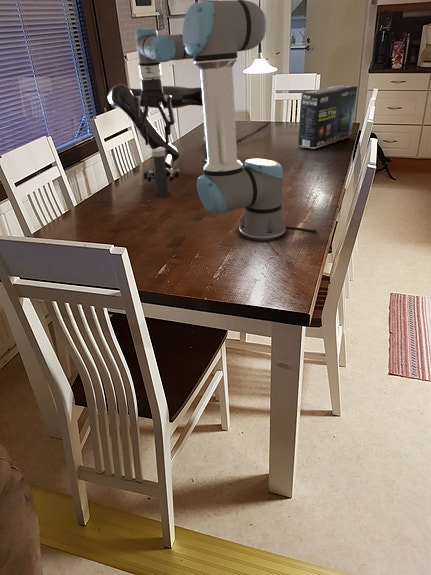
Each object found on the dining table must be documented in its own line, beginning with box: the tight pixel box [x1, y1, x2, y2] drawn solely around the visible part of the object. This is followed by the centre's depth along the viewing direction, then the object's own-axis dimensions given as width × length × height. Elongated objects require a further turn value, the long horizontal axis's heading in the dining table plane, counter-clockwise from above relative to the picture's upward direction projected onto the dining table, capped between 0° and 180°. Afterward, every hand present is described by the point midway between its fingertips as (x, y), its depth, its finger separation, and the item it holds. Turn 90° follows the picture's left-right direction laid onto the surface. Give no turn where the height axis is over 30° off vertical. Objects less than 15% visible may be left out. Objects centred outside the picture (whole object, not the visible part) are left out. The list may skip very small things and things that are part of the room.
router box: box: [297, 84, 358, 151], centre depth 238 cm, size 36×11×27 cm, turn 134°
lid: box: [151, 147, 165, 157], centre depth 176 cm, size 5×5×2 cm
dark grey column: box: [152, 155, 169, 197], centre depth 180 cm, size 5×5×17 cm
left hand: (160, 179), depth 180 cm, fingers open, 8 cm apart
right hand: (157, 144), depth 174 cm, fingers open, 7 cm apart
